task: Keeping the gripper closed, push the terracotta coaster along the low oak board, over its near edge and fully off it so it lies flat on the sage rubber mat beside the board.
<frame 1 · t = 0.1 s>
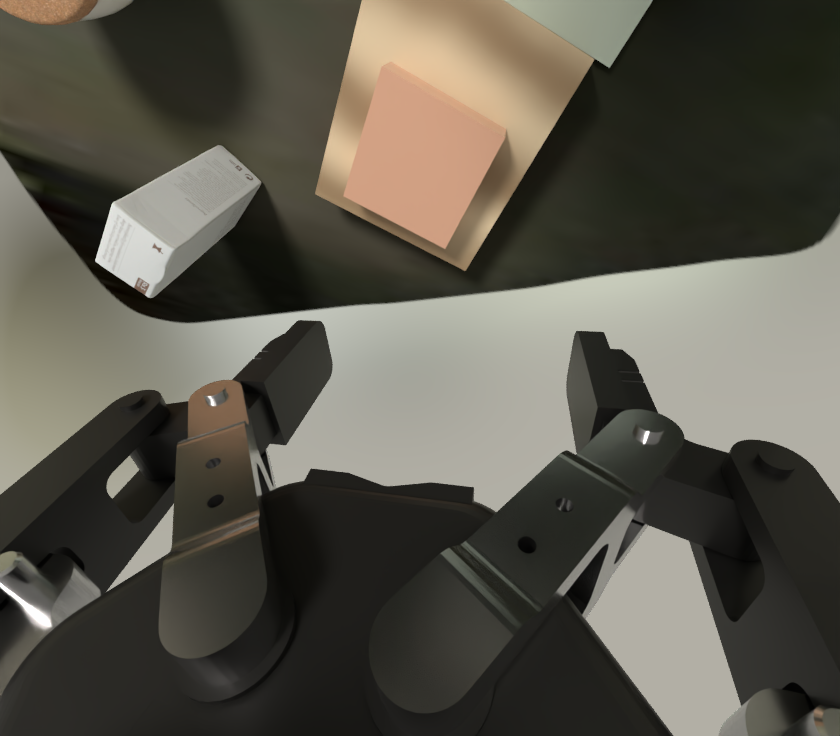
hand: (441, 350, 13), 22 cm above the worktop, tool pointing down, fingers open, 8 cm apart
oak board: (439, 126, 28), on the worktop
terracotta coaster: (420, 164, 26), point 4 cm above the worktop, touching oak board
skincare box: (230, 189, 35), on the worktop
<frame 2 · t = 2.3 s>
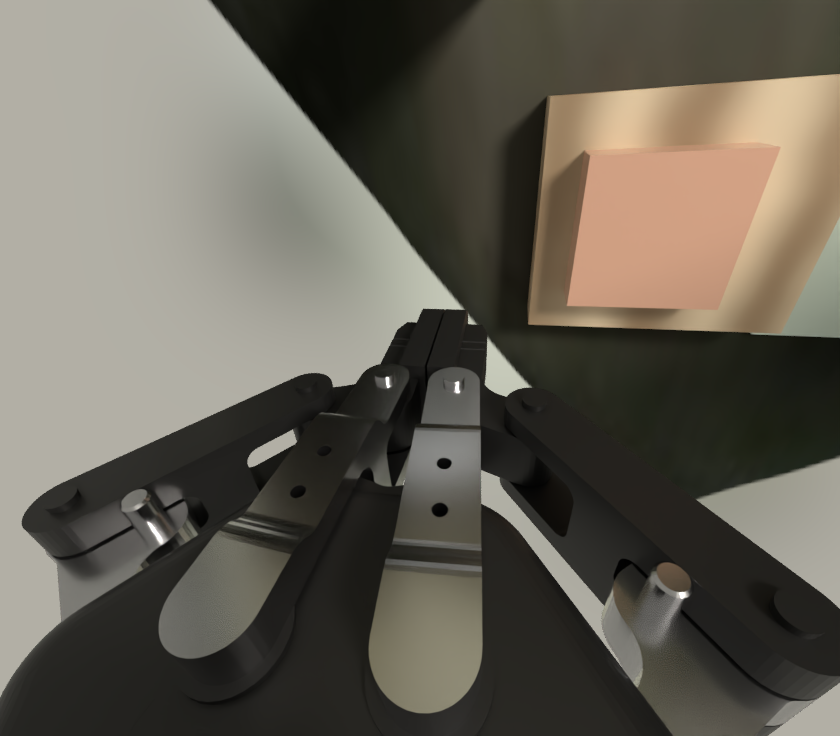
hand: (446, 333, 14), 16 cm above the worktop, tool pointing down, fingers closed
oak board: (661, 213, 25), on the worktop
terracotta coaster: (652, 232, 22), point 4 cm above the worktop, touching oak board
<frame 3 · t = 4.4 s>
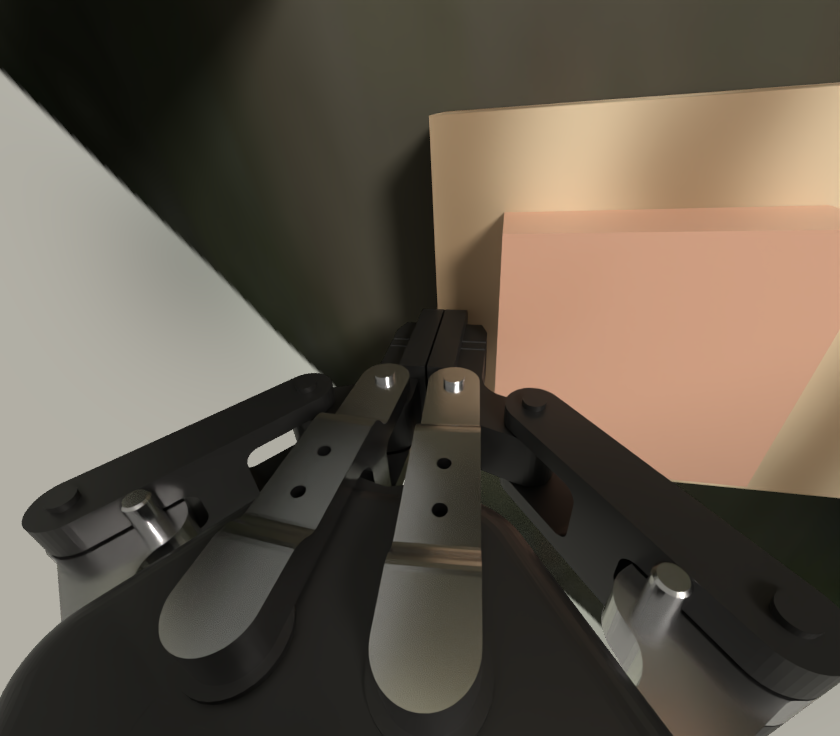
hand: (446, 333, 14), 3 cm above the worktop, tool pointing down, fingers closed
oak board: (645, 300, 15), on the worktop
terracotta coaster: (631, 355, 12), point 4 cm above the worktop, touching gripper
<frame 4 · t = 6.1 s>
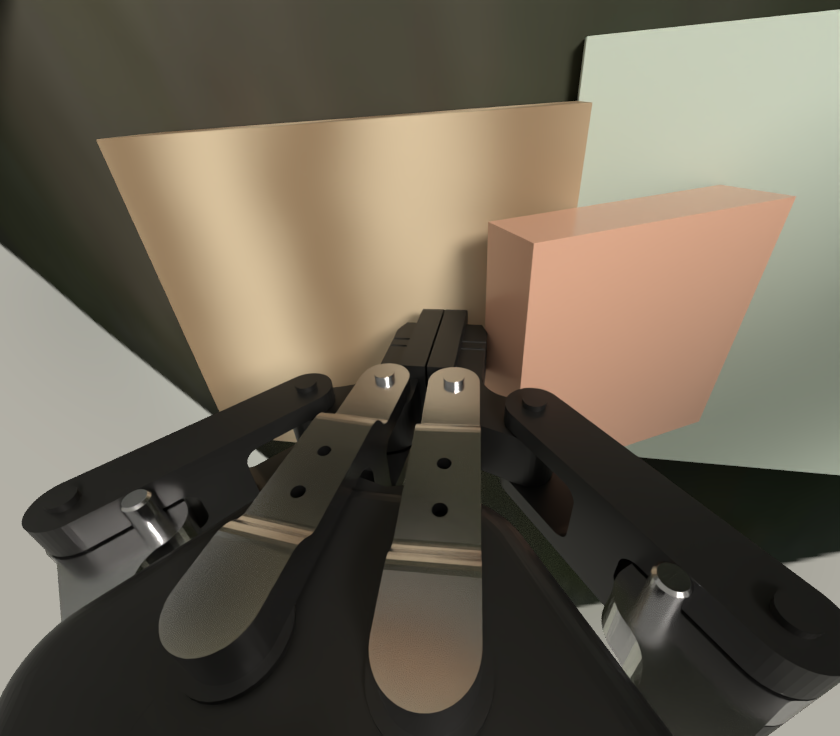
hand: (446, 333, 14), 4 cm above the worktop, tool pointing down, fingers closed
oak board: (372, 293, 17), on the worktop
terracotta coaster: (612, 339, 13), point 3 cm above the worktop, tilted 30°, touching gripper, oak board, sage mat
sage mat: (784, 300, 14), on the worktop
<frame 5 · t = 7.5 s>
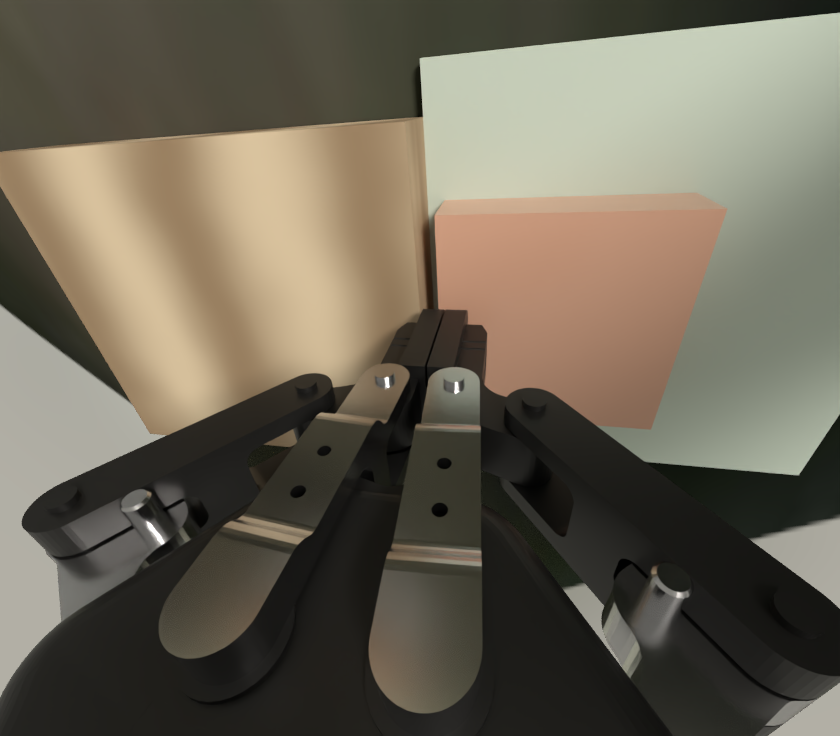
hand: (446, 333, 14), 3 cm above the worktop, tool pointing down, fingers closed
oak board: (273, 296, 18), on the worktop
terracotta coaster: (551, 319, 15), point 1 cm above the worktop, touching sage mat
sage mat: (642, 302, 15), on the worktop
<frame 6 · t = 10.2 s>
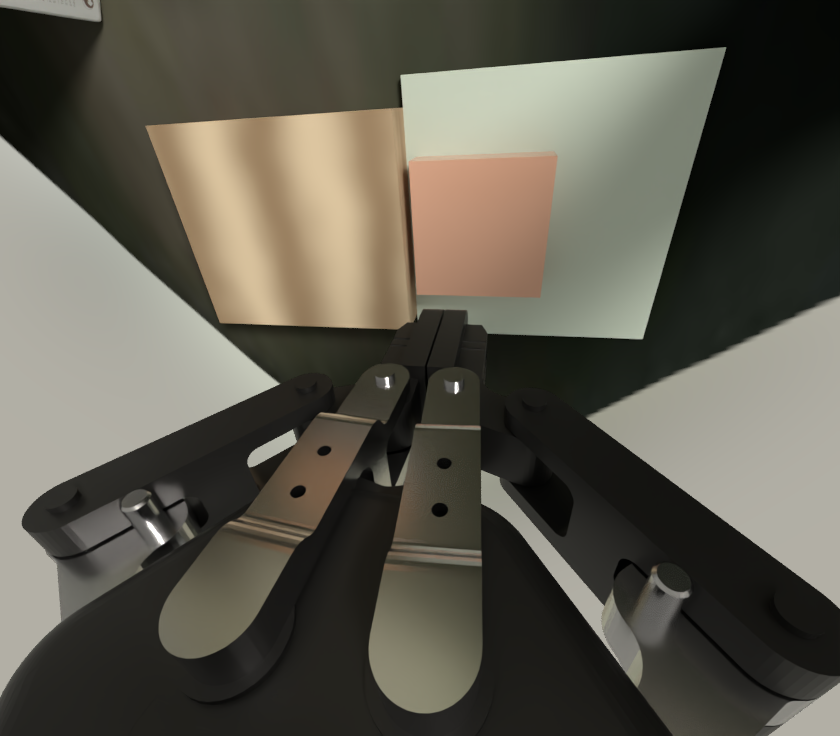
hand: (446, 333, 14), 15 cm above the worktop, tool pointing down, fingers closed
oak board: (308, 224, 28), on the worktop
terracotta coaster: (479, 228, 25), point 1 cm above the worktop, touching sage mat
sage mat: (535, 221, 25), on the worktop
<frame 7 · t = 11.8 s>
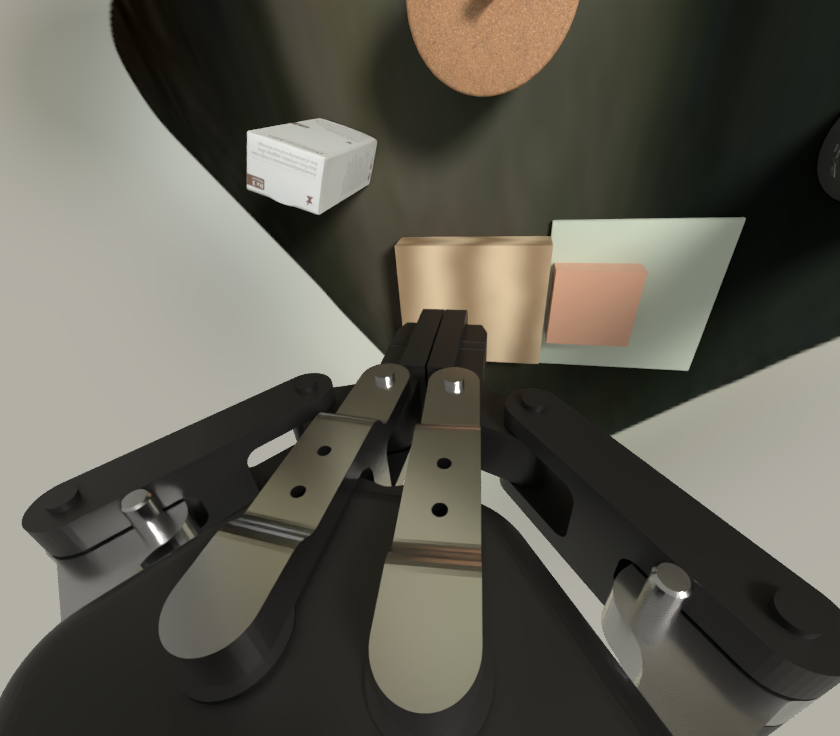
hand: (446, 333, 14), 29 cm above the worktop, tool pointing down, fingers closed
oak board: (472, 296, 44), on the worktop
lidded jar: (495, 12, 31), on the worktop
terracotta coaster: (591, 305, 40), point 1 cm above the worktop, touching sage mat
skincare box: (344, 153, 38), on the worktop
sage mat: (624, 299, 41), on the worktop
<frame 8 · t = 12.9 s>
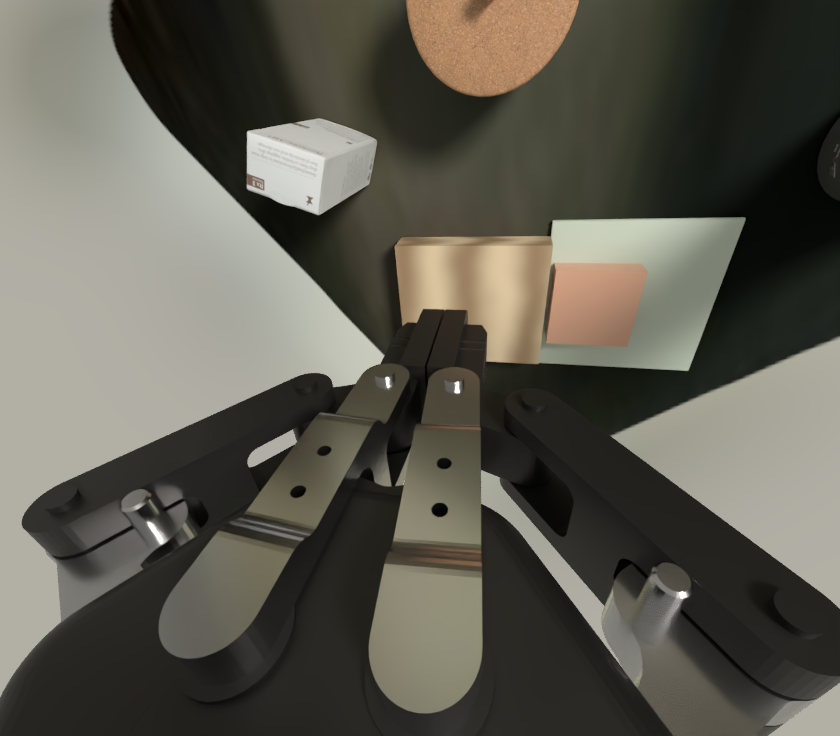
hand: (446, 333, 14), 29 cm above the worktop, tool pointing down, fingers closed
oak board: (472, 296, 44), on the worktop
lidded jar: (495, 12, 31), on the worktop
terracotta coaster: (591, 305, 40), point 1 cm above the worktop, touching sage mat
skincare box: (344, 153, 38), on the worktop
sage mat: (624, 299, 41), on the worktop
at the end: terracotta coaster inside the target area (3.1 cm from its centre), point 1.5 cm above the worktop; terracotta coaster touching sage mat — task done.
